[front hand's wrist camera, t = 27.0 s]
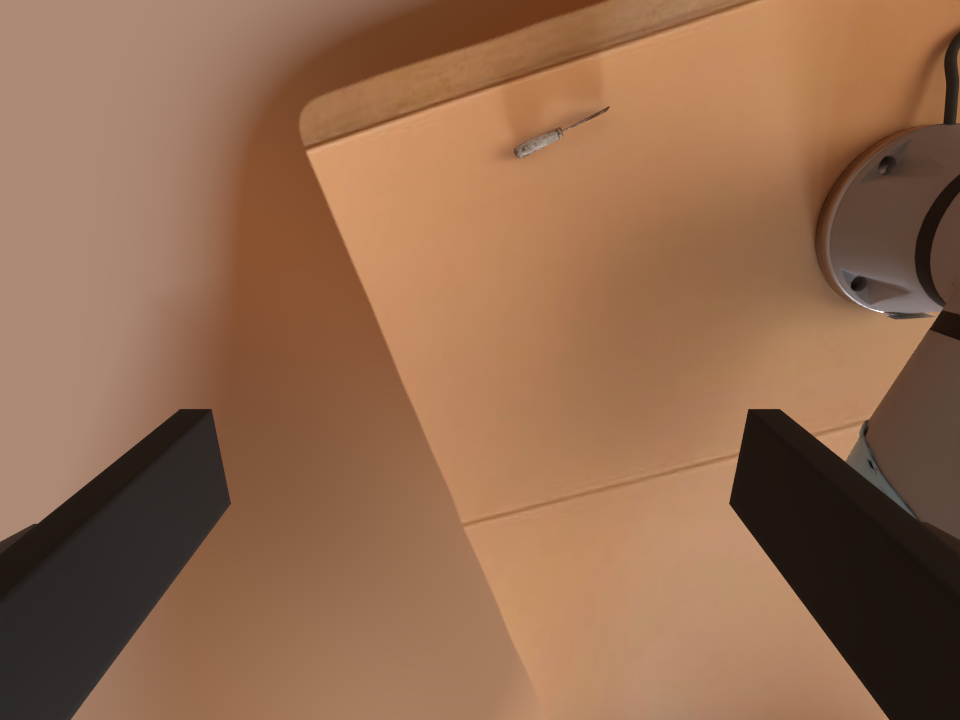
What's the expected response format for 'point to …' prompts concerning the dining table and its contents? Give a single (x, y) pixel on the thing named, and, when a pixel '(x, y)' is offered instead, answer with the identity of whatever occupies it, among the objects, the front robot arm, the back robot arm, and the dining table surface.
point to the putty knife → (546, 138)
